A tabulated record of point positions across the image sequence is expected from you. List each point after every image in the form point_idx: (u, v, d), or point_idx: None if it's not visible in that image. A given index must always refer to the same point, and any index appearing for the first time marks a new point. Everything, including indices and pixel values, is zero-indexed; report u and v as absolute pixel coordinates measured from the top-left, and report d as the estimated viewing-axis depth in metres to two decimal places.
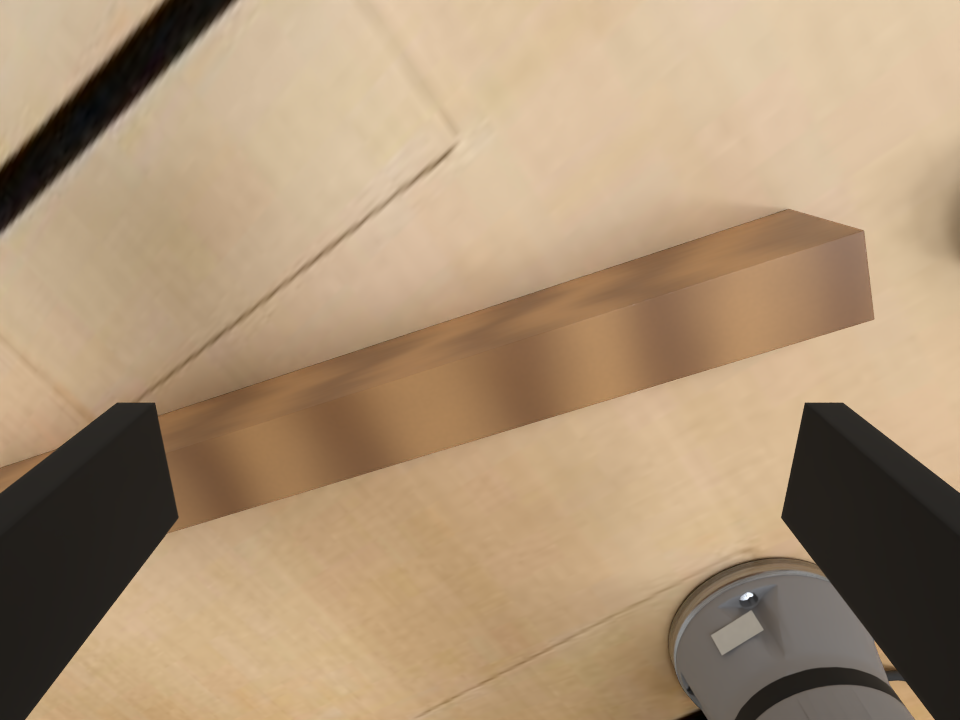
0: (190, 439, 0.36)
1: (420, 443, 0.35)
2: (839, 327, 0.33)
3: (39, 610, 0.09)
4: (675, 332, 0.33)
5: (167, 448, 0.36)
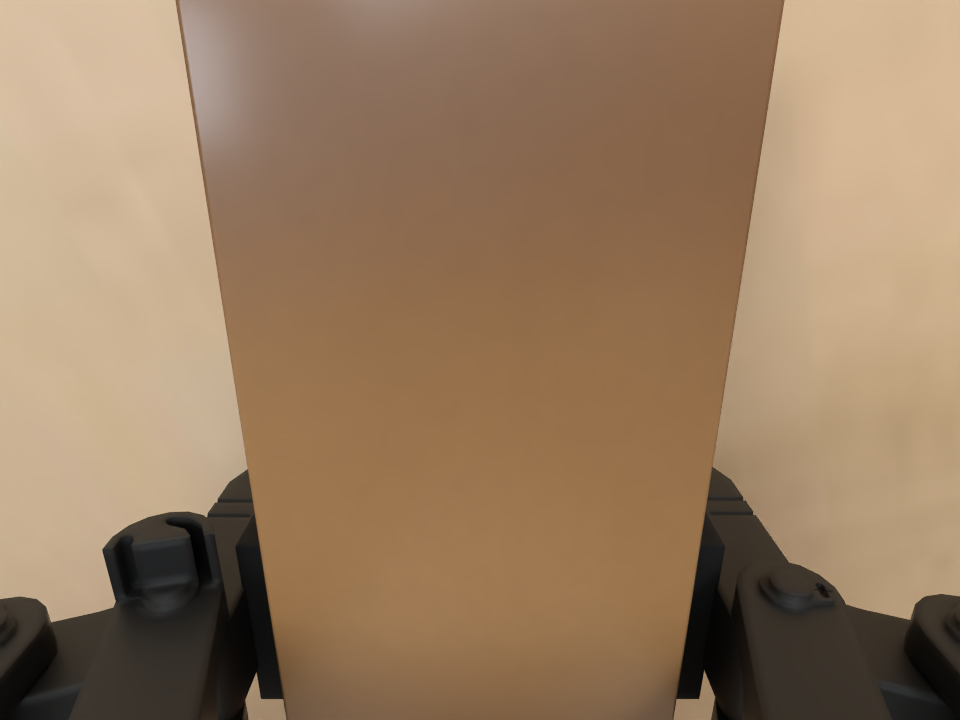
0: None
1: None
2: (739, 197, 0.06)
3: None
4: None
5: None
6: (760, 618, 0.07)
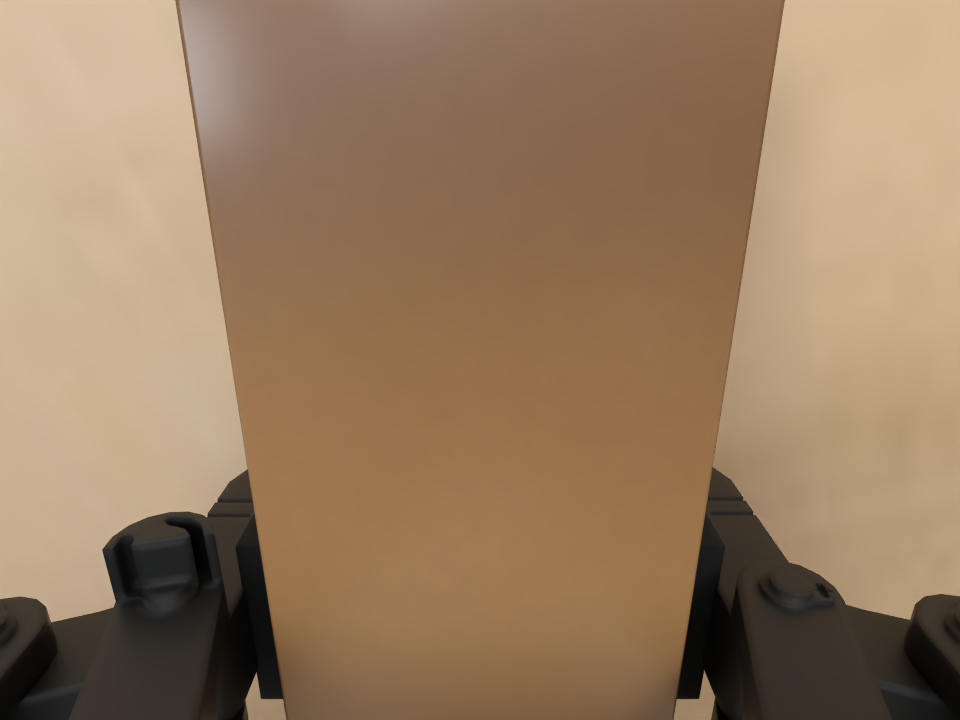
0: None
1: None
2: (738, 196, 0.06)
3: None
4: None
5: None
6: (760, 617, 0.07)
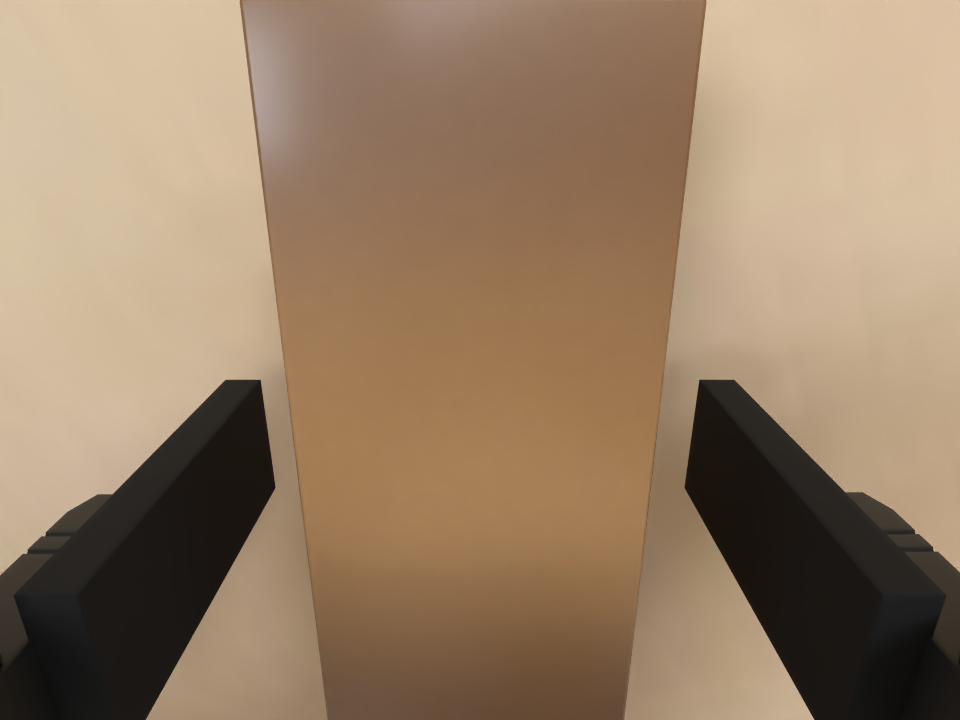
0: None
1: None
2: (675, 175, 0.07)
3: (191, 557, 0.10)
4: (463, 702, 0.10)
5: None
6: None
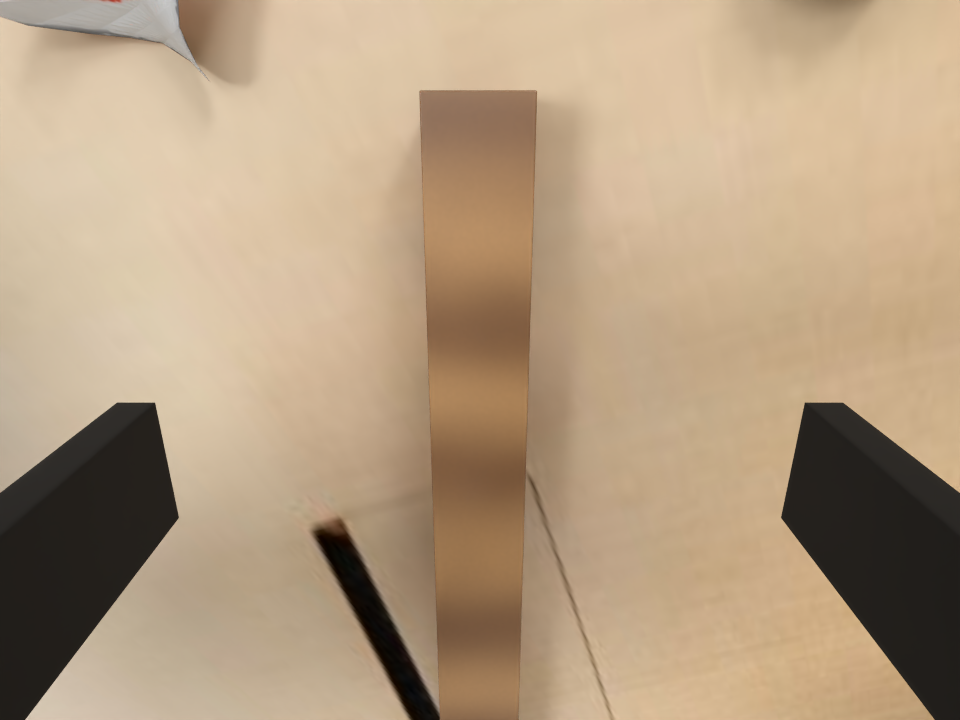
0: None
1: (507, 576, 0.35)
2: (532, 136, 0.27)
3: (39, 610, 0.09)
4: (474, 320, 0.29)
5: None
6: None
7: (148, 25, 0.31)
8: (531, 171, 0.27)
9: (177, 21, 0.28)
